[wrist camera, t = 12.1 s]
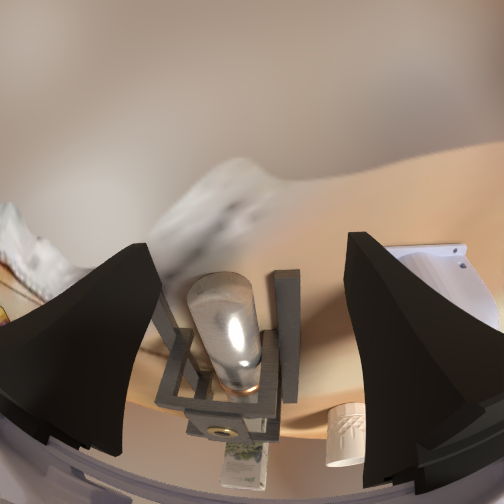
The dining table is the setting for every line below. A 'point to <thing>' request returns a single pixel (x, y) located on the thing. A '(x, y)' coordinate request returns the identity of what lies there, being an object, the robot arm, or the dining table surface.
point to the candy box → (3, 317)
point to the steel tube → (229, 332)
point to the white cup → (346, 435)
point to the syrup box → (246, 461)
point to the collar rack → (182, 362)
